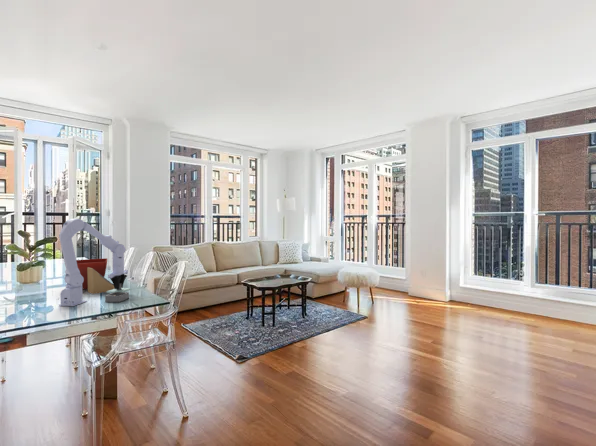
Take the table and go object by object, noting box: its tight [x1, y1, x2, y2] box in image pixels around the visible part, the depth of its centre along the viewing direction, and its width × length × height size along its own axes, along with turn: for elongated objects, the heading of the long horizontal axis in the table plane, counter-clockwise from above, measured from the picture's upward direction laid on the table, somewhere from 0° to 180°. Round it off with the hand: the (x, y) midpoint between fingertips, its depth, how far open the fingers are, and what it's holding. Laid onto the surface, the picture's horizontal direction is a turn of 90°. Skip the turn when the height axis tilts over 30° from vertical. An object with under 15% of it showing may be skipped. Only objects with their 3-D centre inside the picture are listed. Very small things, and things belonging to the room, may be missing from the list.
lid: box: [106, 283, 132, 294], centre depth 188 cm, size 9×9×5 cm
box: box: [104, 291, 130, 304], centre depth 178 cm, size 8×8×4 cm
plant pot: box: [76, 258, 108, 290], centre depth 209 cm, size 19×19×17 cm
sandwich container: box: [87, 267, 115, 295], centre depth 200 cm, size 9×15×15 cm, turn 141°
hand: (118, 288), depth 188 cm, fingers closed on lid, 3 cm apart
